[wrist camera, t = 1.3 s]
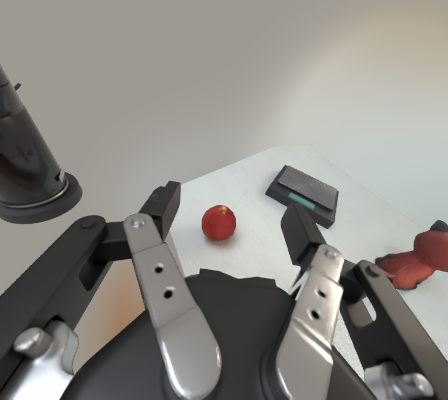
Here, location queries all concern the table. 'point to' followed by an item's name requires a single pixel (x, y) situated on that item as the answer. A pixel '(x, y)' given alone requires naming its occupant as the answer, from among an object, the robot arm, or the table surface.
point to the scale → (305, 194)
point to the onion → (218, 223)
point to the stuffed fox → (418, 258)
